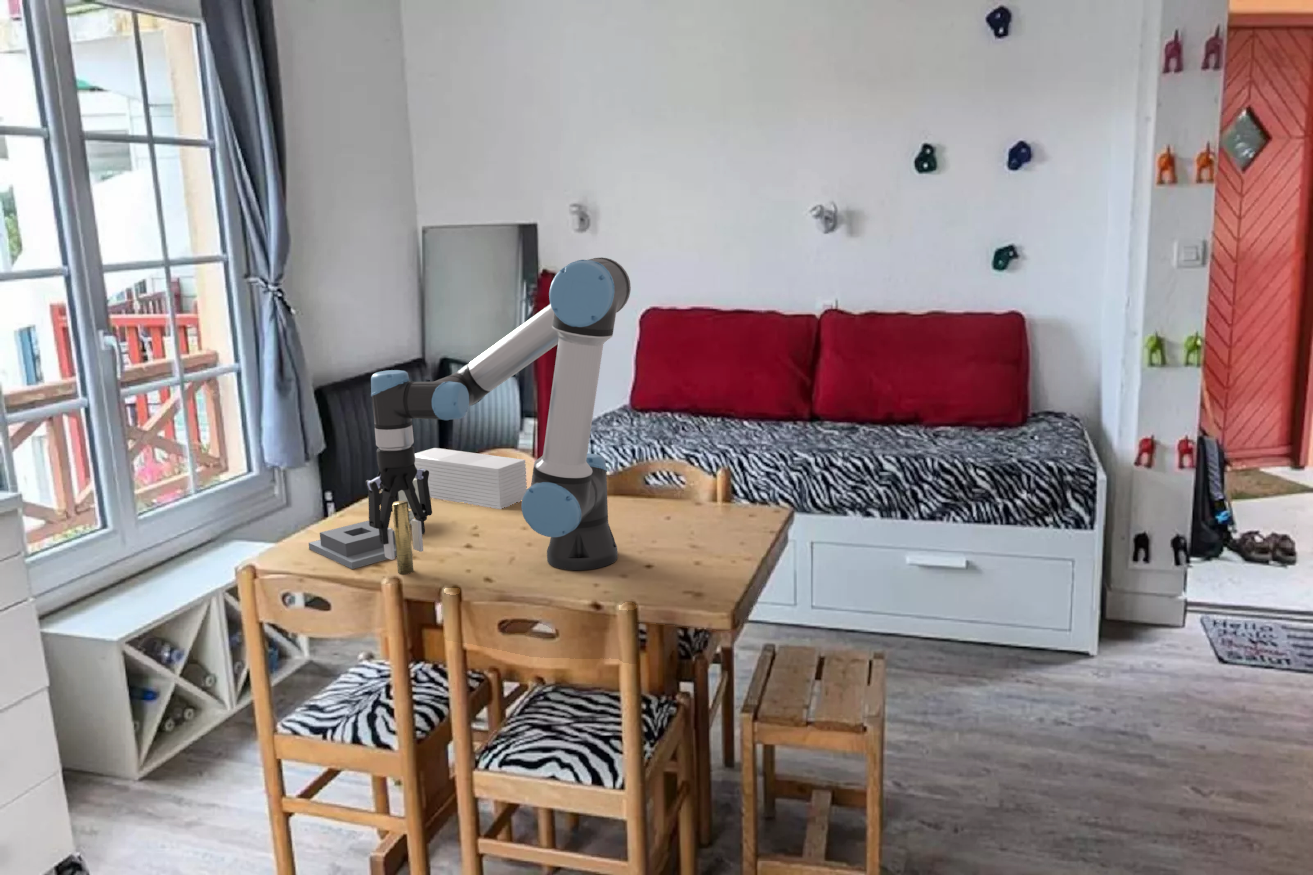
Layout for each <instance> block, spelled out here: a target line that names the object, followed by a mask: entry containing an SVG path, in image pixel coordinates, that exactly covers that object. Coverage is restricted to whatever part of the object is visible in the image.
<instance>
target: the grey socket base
mask: <svg viewBox="0 0 1313 875" xmlns="http://www.w3.org/2000/svg"><path fill="white" fill-rule="evenodd" d="M392 533H393V544H394V556H395V558H397V557H396V544H395V533H394V529H392ZM308 549H309V550H310V549H311V550H310V551H313V552H314V553H317V554H319V555H321V556H323V557H325V558H328V559H329V560H332V561H334V562H337V563H338V564H340V565H343V566H344V565H345V567H346V568H349V569H351V570H353V569H357V568H361V567H364V566H368V565H372V564H375V563H376V564H377V563H379V561H380V562H382V561H386V560H389V559H388V558H386V557H385V552H384V544H382V543H381V542H380V536H379V529H376V528H374V527H371V526H370V525H369V520H365V521H361V522H357V523H353V524H349V525H345V526H340V527H337V528H333V529H329V530H325V531H320V532H319V540H314V541H310V542H308Z"/></svg>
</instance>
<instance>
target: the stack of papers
mask: <svg viewBox="0 0 1313 875" xmlns="http://www.w3.org/2000/svg"><path fill="white" fill-rule="evenodd" d="M414 464H415V467H416V468H417V469H420V468H421V469H425V470H428V471H429V477H428V486H429V493H430V499H437V500H444V501H449V502H456V503H460V502H464V503H463V504H466V503H468V505H472V504H473V506H478V505H479V506H478V507H483V508H484V507H485V508H490V507H491V509H497V510H502V508H503V509H505V508H508V507H510V505H511V506H513V505H515V504H514V503H516V502H518V503H521V502H522V501H521V500H522V499H523V497H524V494H525V493H526V490H527V489H528V488H527V487H528V486H527V471H526V470H527V467H526V459H523V458H522V459H521V458H515V457H508V456H498V455H494V454H493V455H491V454H485V453H476V452H469V451H462V450H455V449H446V448H440V447H433V448H429V449H426V450H421V451H418V452H416V453H415V463H414ZM415 478H416V476H415ZM520 501H521V502H520ZM512 504H513V505H512ZM516 504H517V503H516ZM504 507H505V508H504Z"/></svg>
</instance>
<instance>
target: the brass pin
mask: <svg viewBox="0 0 1313 875" xmlns="http://www.w3.org/2000/svg"><path fill="white" fill-rule="evenodd" d="M392 510H393V512H392V522H393V521H394V522H393V530H394V533H395V544H396V556H397V557H396V565H397V574H399V575H407V574H408V573H409V574H412V573H413V572H414V571H413V570H414V561H413V560H414V559H413V549H412V547H413V545H412V533H411V525H410V522H409V511H410V510H409V508H408V502H407V501H396V502H393V506H392ZM412 571H413V572H412ZM411 572H412V573H411Z"/></svg>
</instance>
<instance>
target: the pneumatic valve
mask: <svg viewBox="0 0 1313 875" xmlns="http://www.w3.org/2000/svg"><path fill="white" fill-rule="evenodd" d="M413 485H414V487H415V492H416V495H417V497H418V500H419V503H420V499H419V493H418V486H417V478H414V480H413ZM382 491H383V485H382V484H381V485H380V492H379V493H380V506H381V503H382V498H383V494H382ZM389 492H390V491H389ZM396 501H407V502H408V500H407V498H406V495H405V493H404V491H403V490H400V491H399V492H397V493H396V497H395V498H394V501H393V502H396ZM409 509H410V510H409ZM408 510H409V522H410V526H412V525H411V520H412V519H415V517H414V515H413V512H412V510H411V507H410V505H409V503H408ZM391 513H393V510H392V511H391ZM392 522H393V523H394V521H393V520H392Z"/></svg>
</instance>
